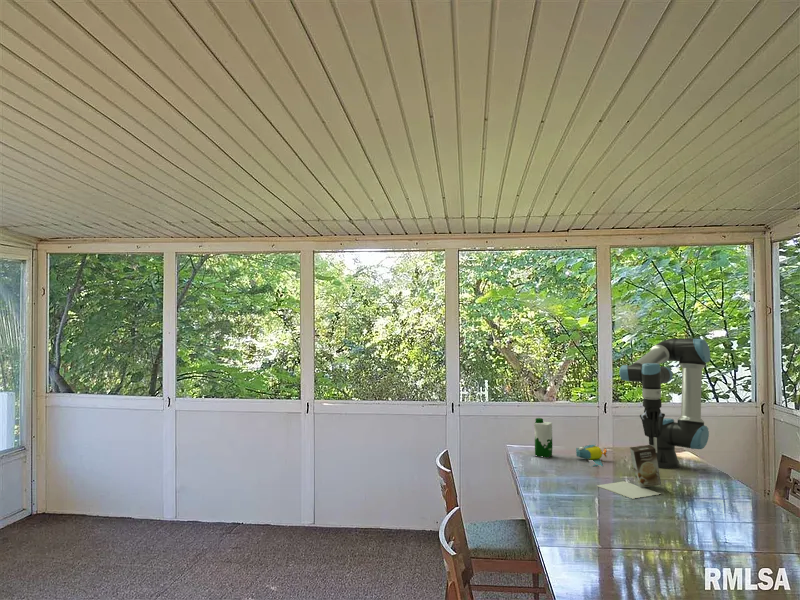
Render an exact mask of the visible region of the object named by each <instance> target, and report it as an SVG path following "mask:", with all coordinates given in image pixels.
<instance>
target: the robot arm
mask: <svg viewBox="0 0 800 600" xmlns="http://www.w3.org/2000/svg"><path fill="white" fill-rule="evenodd" d="M710 361H711V350H710V347H709V345H708V343H707V341H706V340H705V339H702V338H674V337H673V338H669V339H665V340H662V341H660V342H658V343H656V344H655V345H653V346H651V348H650V350H649V352H646V353H645V354H644V355H643V356H641V357H640V358H638V359H637V360H635V361H634V362H633V363H632V364H630V365H628V364H623V365H621V366H620V367H619V372H618V373H619V378H620V380H622V381H626V382H635V383H641V384H642V386H641V387H642V388H641V389H642V392H641V393H642V406H643V408H644V410H643V413H642V414H639V418H640V419H641V423H642V427H643V428H642V429H643V432H644V436H646V437H647V438H648V445H651V446H653V447H654V448H655V450H656V456H657V462H658V468H662V469H677V468H680V461H679V459H678V456H677V453H676V447H680V448H686V449H691V450H703V449H704V448H705V447H706V445H707V444H708V441H709V437H710V436H709V435H710V431H709V427H708V426H707V425H705V421H704V420H703V419H702V417H701V416H702V379H703V378H702V377H703V375H702V374H703V369H704V368H706V363H709V362H710ZM666 362H678V363H679V364H678V365H679V366H680V367H681V368H682V372H681V373H682V374H681V377H682V378H681V401H680V402H681V407H680V408H681V409H680V411H681V412H680V417H678V418H677V422H676V421H675V420H674V418H670V417H669V418H665V416H666V414H665V413H663V412H662V411H661V408H662V405H663V404H662V399H661V398H662V384H666V383H669V382H671V381H672V379H673V376H674V375H673V370H671V368H669V367H668V366H663V365H662V366H661V364H664V363H666Z"/></svg>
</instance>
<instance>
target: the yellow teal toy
mask: <svg viewBox="0 0 800 600" xmlns="http://www.w3.org/2000/svg"><path fill="white" fill-rule="evenodd" d="M575 452H576V453H575V455H576V457H577V458H581V459H583V460H584V459H585V460H588V459H589V460H593V461H594V462H595V463H596V464H598V465H601V466H603V467H604V465H603V464H604V463H603V462H602V461H601V458H602V456H603V455H604V457H607V452H608V451H607V449H606V447H605V448H604V449H603V451H602V449H601V448H600V447H599V446H597V445H596V444H589V445H585V446H579V447H576V448H575ZM596 464H595V465H593V466H592V467H597V466H598V465H596Z"/></svg>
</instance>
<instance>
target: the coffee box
mask: <svg viewBox="0 0 800 600" xmlns="http://www.w3.org/2000/svg"><path fill="white" fill-rule="evenodd" d="M629 450H630V458H631V462H632V463H631V465H632V469H633V475H634V479H635V485H637V486H639V487H643V488H647V487H655V486H662V480H661V479H662V478H661V473H660V469H659V467H658V462H657V456H656V450H655V448H654V447H653V446H651V445H649V444H647V445H646V444H645V445H637V446H631V447H629Z"/></svg>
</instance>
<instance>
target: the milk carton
mask: <svg viewBox="0 0 800 600" xmlns="http://www.w3.org/2000/svg"><path fill="white" fill-rule="evenodd" d="M533 427H534V456H535V455H537V456H543V457H542V458H544V457H549V456H550V457H552V456H553V422H551V421H549V422H548V421H544V419H543V418H541V417H536V418H535V422H534V423H533ZM551 455H552V456H551ZM550 457H549V458H550Z"/></svg>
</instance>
